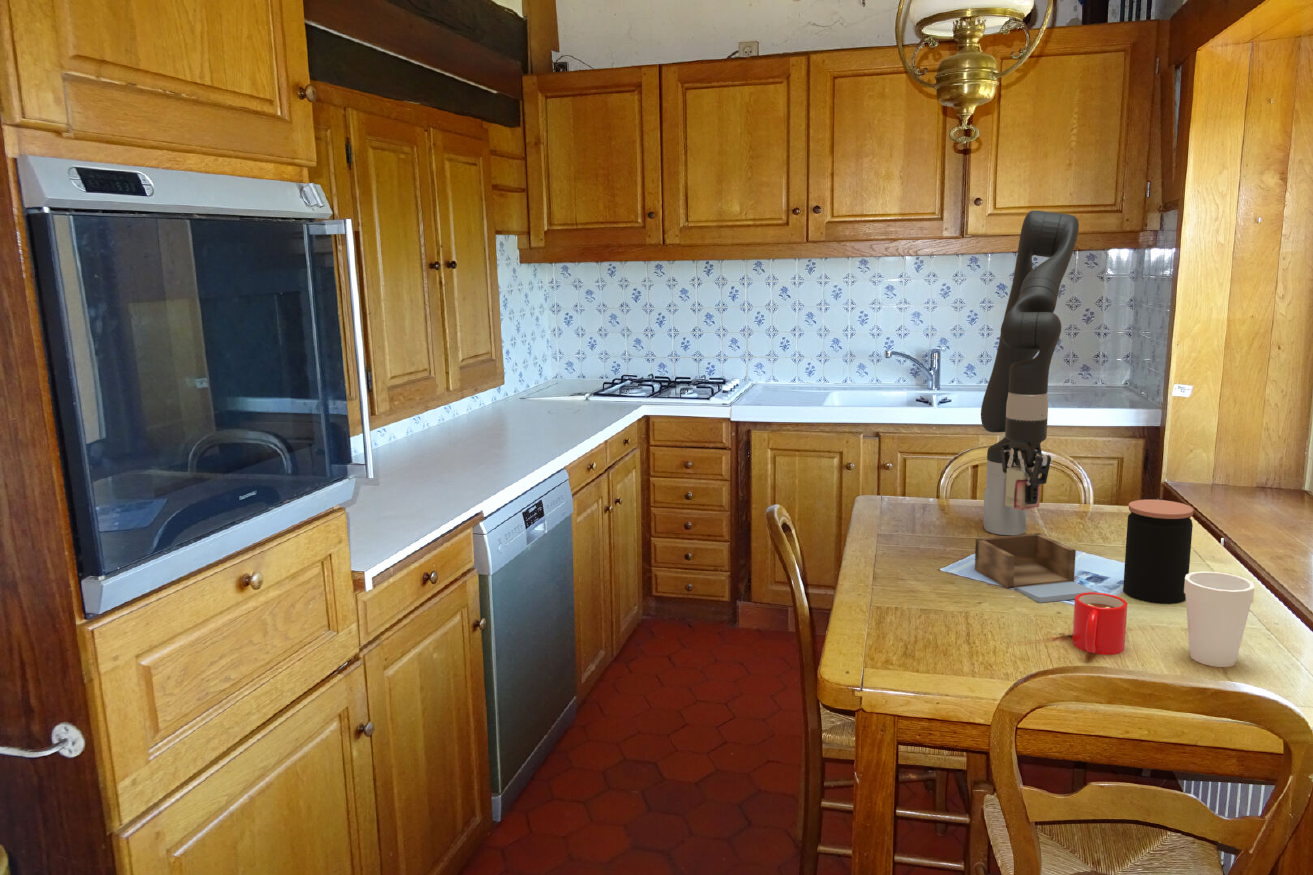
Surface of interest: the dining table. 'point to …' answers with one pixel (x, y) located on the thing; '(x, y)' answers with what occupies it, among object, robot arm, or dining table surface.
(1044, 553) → the open wooden box
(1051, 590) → the panel
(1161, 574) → the coffee jar
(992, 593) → the dining table surface
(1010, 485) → the small box
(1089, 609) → the mug
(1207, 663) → the foam cup
